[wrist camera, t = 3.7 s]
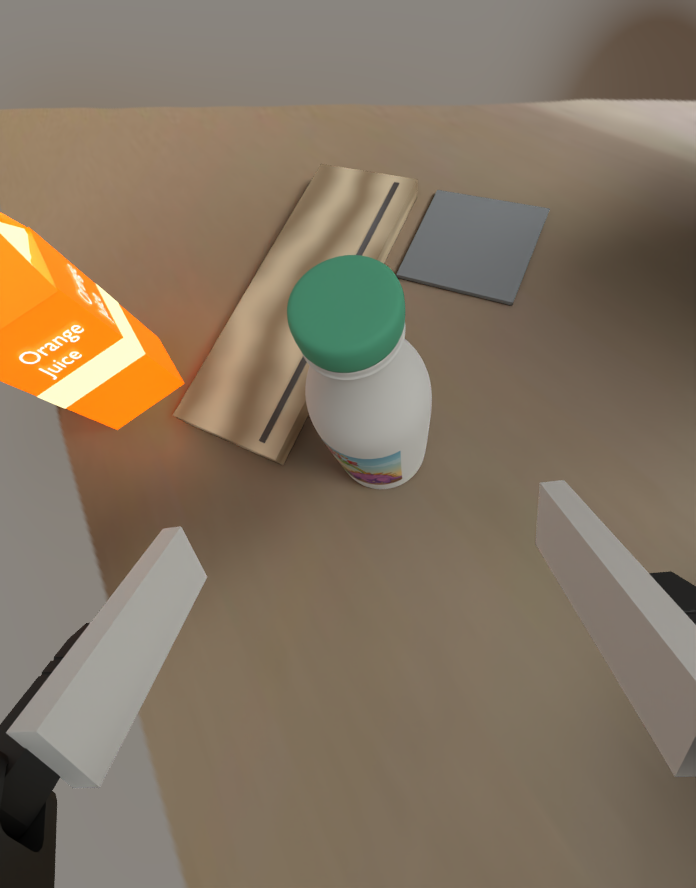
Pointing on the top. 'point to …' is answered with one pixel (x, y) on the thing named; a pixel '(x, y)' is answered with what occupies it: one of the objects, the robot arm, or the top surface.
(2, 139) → the top surface
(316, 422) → the milk bottle
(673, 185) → the top surface
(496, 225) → the plate
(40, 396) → the orange juice
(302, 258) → the oak board
